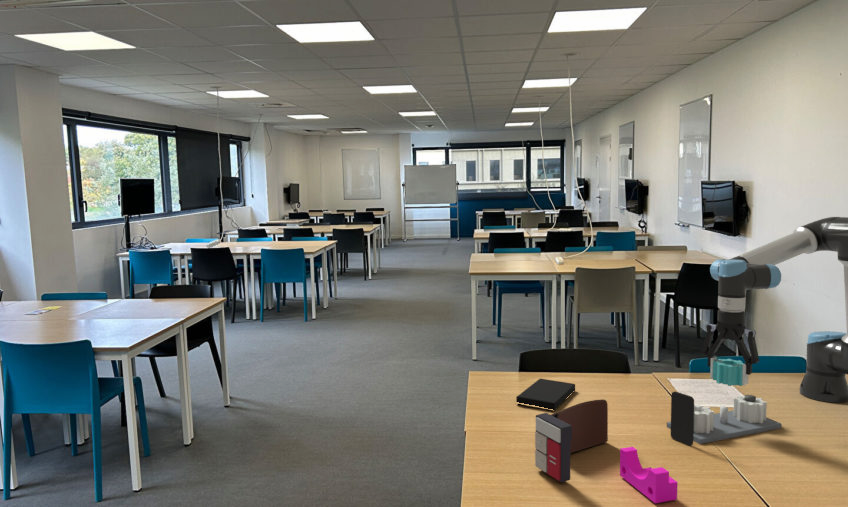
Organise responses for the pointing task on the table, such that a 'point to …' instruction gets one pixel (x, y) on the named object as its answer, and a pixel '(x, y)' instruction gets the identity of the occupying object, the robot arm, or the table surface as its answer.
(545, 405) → the black book
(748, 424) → the gear board
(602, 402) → the letter holder
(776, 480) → the table surface
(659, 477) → the magenta mounting bracket
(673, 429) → the phone
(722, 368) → the teal gear
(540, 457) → the calculator
